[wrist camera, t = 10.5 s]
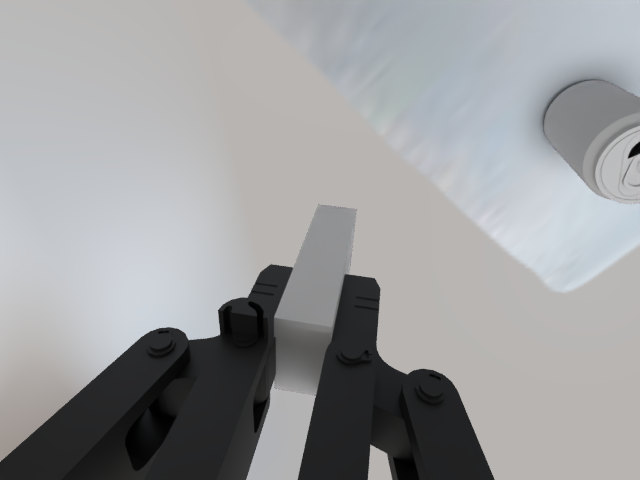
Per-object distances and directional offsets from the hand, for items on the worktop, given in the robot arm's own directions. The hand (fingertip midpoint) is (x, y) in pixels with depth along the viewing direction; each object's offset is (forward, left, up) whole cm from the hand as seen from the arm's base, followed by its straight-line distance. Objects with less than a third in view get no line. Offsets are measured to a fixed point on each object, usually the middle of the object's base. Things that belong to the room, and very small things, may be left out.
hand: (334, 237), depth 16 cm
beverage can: (0, +18, -27) cm, 33 cm away
